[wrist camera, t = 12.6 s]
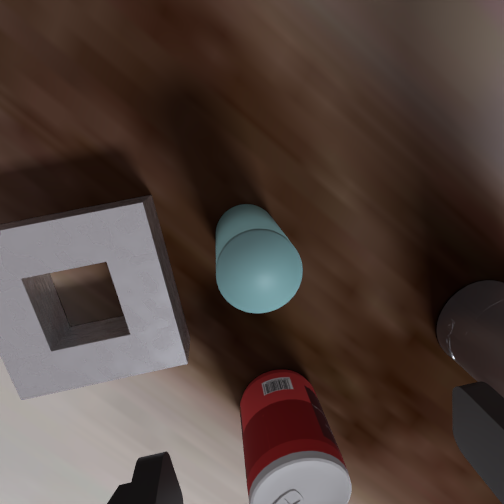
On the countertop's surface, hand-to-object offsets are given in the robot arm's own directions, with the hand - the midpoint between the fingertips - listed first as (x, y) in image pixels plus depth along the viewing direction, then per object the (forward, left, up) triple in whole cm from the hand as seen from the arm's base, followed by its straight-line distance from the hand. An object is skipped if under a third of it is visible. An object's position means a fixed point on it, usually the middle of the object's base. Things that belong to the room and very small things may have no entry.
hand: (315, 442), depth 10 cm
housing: (+14, +2, -23) cm, 27 cm away
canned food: (0, +18, -23) cm, 29 cm away
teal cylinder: (0, 0, -23) cm, 23 cm away
